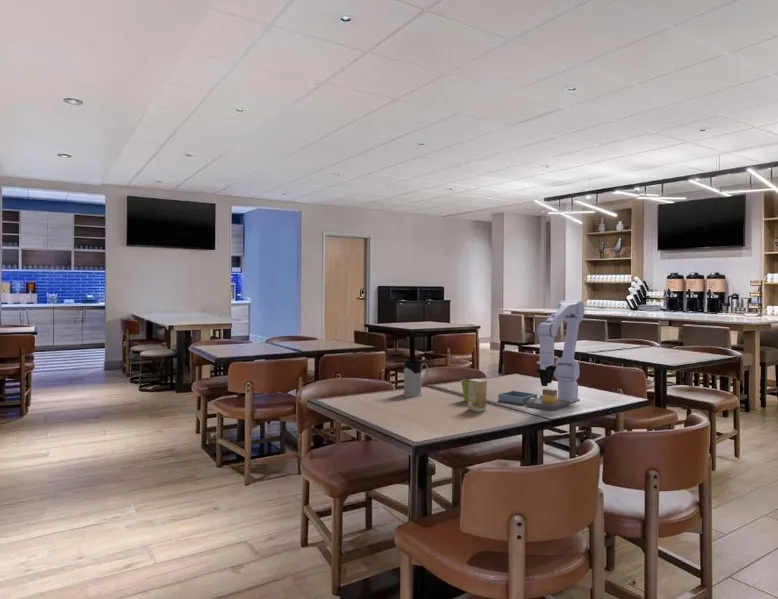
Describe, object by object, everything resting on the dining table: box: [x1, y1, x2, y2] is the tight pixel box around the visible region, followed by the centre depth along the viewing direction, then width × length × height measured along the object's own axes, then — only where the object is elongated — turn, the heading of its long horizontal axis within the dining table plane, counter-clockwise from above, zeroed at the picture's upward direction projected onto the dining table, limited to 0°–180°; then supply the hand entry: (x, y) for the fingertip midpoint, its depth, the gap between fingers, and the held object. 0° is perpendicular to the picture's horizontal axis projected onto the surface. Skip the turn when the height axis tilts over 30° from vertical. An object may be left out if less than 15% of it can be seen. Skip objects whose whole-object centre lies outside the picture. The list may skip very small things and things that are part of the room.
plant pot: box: [460, 379, 470, 403], centre depth 237 cm, size 9×9×9 cm
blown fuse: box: [541, 388, 558, 403], centre depth 228 cm, size 3×5×7 cm, turn 46°
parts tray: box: [497, 390, 538, 406], centre depth 238 cm, size 12×12×3 cm
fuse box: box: [525, 394, 570, 412], centre depth 228 cm, size 14×12×3 cm
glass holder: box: [402, 360, 429, 398], centre depth 252 cm, size 9×14×15 cm, turn 132°
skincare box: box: [467, 378, 488, 413], centre depth 219 cm, size 6×4×12 cm
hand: (546, 384), depth 226 cm, fingers open, 7 cm apart
